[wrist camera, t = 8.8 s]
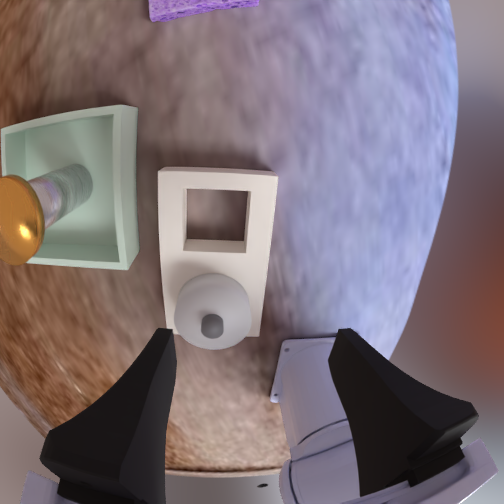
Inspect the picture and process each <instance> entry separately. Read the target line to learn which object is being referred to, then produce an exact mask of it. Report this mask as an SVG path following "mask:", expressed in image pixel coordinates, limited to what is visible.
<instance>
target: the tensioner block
mask: <svg viewBox="0 0 504 504" xmlns="http://www.w3.org/2000/svg"><path fill="white" fill-rule="evenodd" d="M277 185H278V176H277V175H276V174H275V173H274V172H273V171H261V170H247V169H231V168H208V167H164V168H162V169H161V170H159V171H158V220H159V244H160V261H161V275H162V286H163V297H164V307H165V316H166V324H167V329H173V334H179V335H181V336H182V338H183V339H185V340H186V341H187V342H189V343H190V344H192V345H194V346H197V347H199V348H203V349H210V350H219V349H225V348H229V347H231V346H234V345H236V344H237V343H239V342H240V341H242V340H243V339H244V338H245V337H259V332H260V325H261V317H262V310H263V302H264V294H265V286H266V278H267V270H268V262H269V254H270V246H271V237H272V229H273V220H274V211H275V203H276V194H277ZM187 188H188V189H218V190H239V191H248V197H247V210H246V222H245V234H244V241H227V240H201V239H187Z"/></svg>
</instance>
